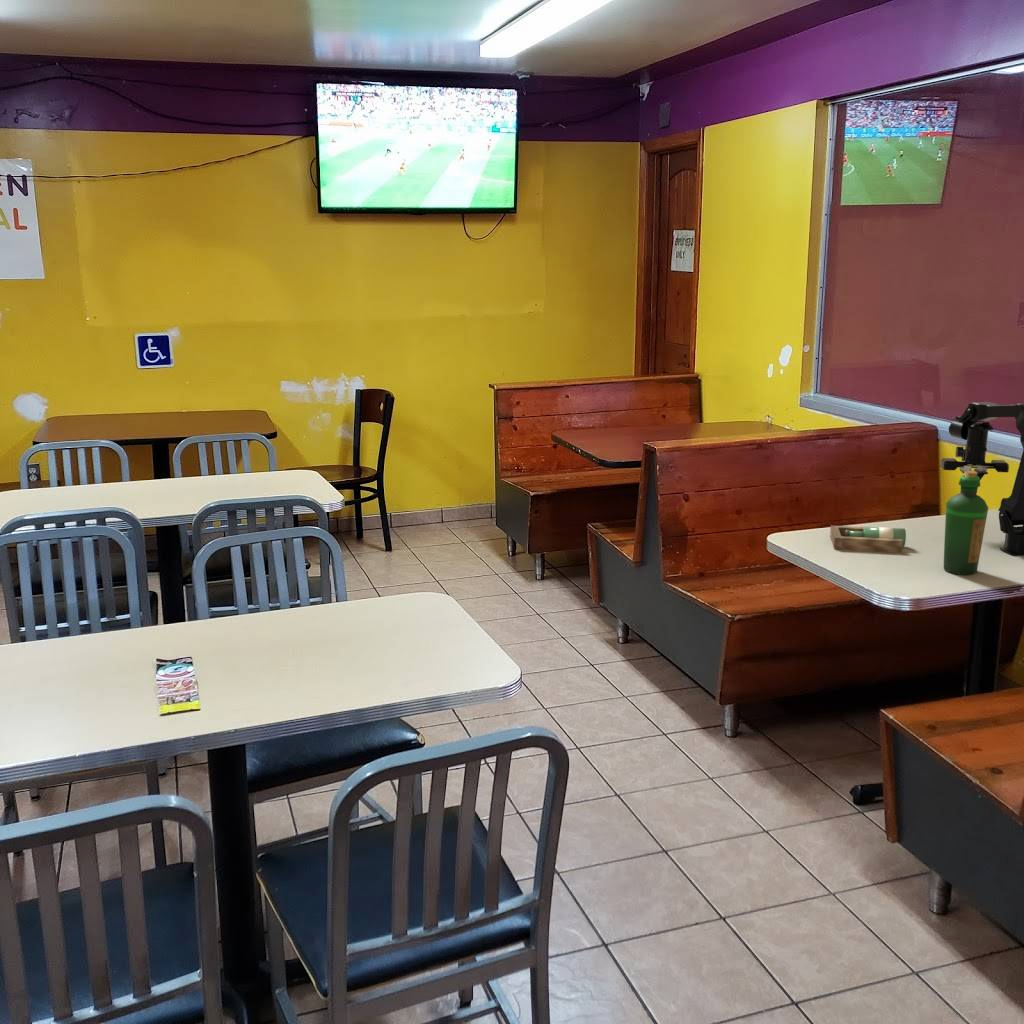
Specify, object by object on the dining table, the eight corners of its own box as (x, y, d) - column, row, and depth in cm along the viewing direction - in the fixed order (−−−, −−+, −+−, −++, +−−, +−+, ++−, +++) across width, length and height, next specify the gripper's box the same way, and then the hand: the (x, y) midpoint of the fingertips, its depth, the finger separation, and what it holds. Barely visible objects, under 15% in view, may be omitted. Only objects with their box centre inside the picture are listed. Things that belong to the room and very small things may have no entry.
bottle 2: (987, 576, 278) (999, 476, 271) (947, 576, 279) (958, 476, 272) (971, 565, 289) (982, 468, 282) (933, 565, 289) (943, 468, 282)
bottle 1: (906, 532, 302) (847, 529, 305) (904, 549, 304) (845, 546, 307) (903, 525, 307) (845, 523, 310) (901, 542, 309) (843, 539, 312)
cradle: (894, 539, 314) (895, 528, 313) (901, 552, 301) (902, 541, 300) (829, 536, 318) (830, 525, 317) (834, 549, 305) (834, 537, 304)
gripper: (1002, 439, 320) (997, 487, 324) (939, 437, 324) (934, 485, 328) (1012, 445, 309) (1005, 495, 313) (946, 443, 313) (941, 493, 317)
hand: (971, 492), depth 318 cm, fingers closed
